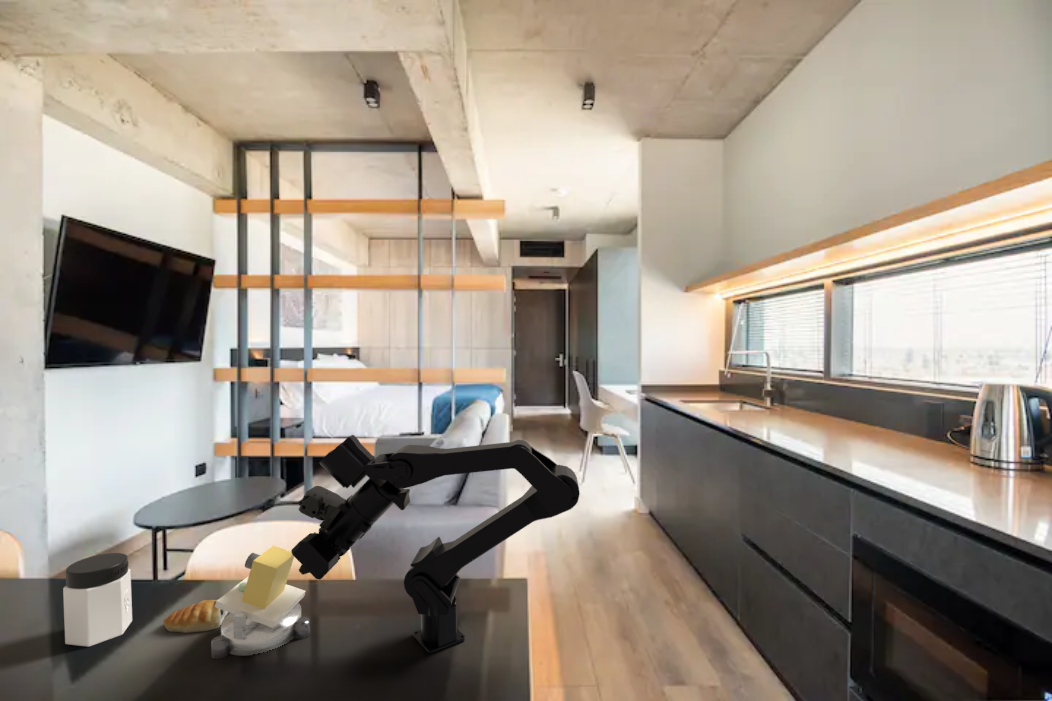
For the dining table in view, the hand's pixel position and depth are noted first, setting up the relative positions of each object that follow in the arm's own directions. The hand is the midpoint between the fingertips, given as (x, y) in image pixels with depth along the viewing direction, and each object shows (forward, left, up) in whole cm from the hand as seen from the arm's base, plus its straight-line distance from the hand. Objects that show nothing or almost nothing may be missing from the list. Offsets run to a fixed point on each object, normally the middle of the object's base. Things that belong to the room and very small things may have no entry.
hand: (301, 571), depth 88 cm
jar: (+21, +27, -11) cm, 36 cm away
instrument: (+4, +5, -5) cm, 9 cm away
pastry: (+15, +13, -11) cm, 23 cm away
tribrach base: (+4, +5, -11) cm, 13 cm away
